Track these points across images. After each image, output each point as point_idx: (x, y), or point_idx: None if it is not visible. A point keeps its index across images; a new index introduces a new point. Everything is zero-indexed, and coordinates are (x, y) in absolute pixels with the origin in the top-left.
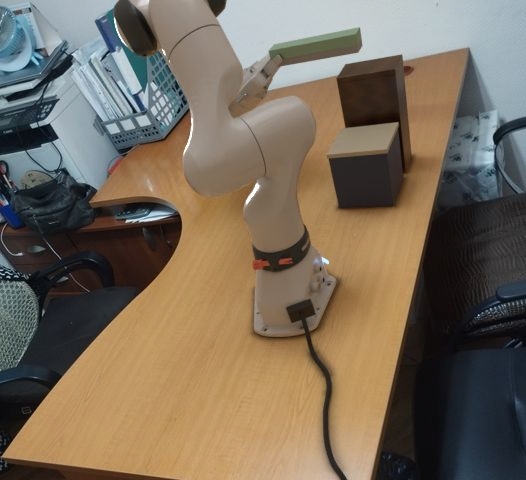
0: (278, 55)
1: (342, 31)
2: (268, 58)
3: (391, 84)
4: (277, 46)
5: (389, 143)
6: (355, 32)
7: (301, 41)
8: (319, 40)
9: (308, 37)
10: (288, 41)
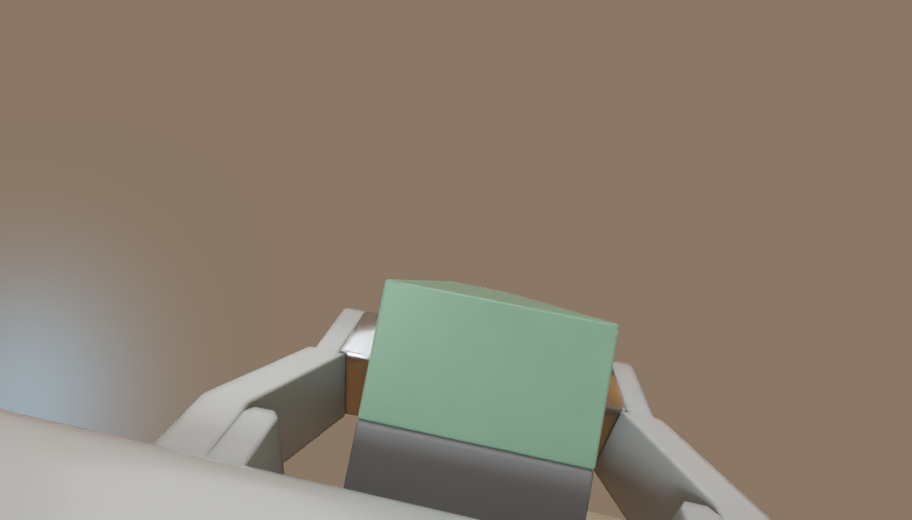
0: (616, 363)
1: (460, 283)
2: (419, 509)
3: None
4: (502, 298)
5: (614, 517)
6: (493, 289)
7: (484, 290)
8: (512, 294)
9: (440, 281)
10: (421, 280)
